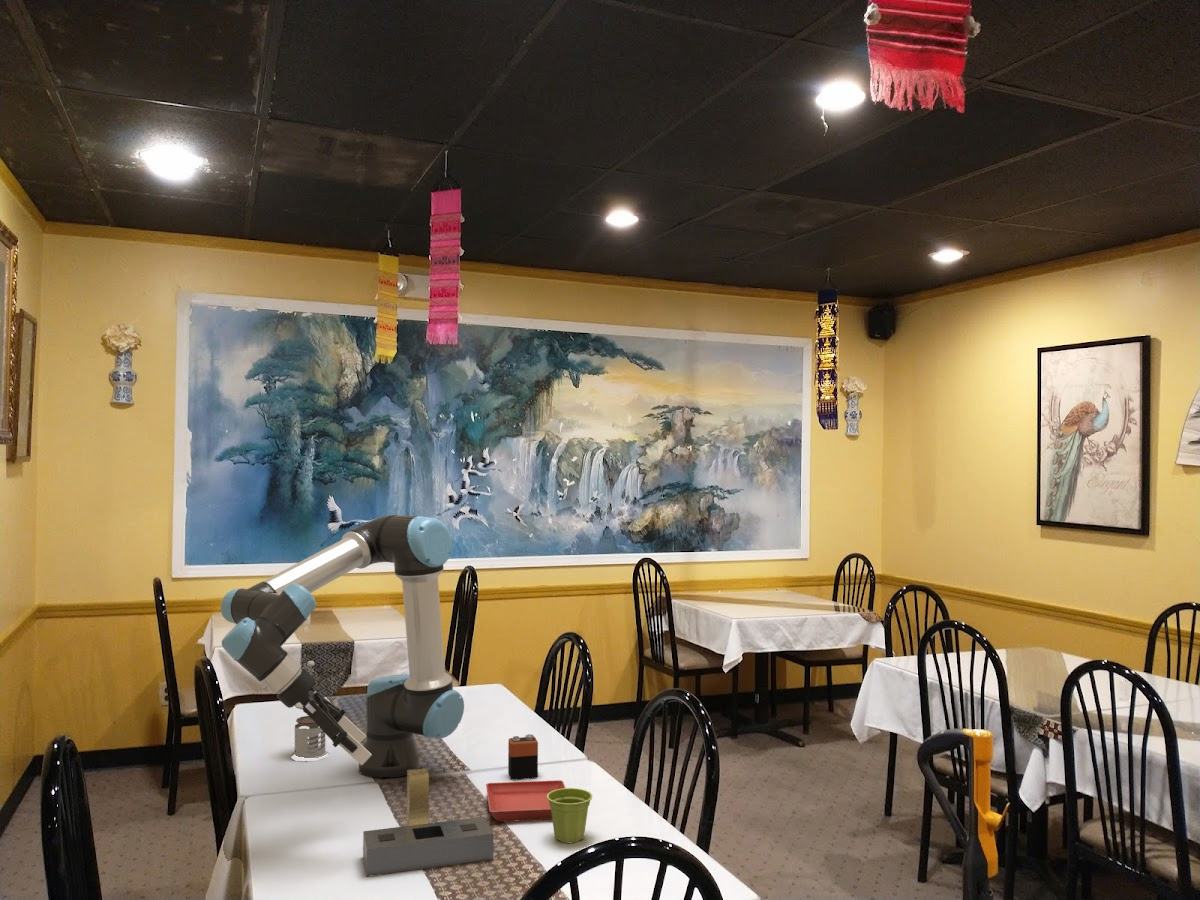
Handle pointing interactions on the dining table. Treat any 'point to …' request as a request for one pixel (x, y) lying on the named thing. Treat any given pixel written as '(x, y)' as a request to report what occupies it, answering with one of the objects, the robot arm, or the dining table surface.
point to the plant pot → (569, 813)
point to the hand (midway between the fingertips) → (364, 750)
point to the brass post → (417, 797)
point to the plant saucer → (521, 799)
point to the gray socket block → (427, 845)
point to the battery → (523, 757)
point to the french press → (308, 735)
